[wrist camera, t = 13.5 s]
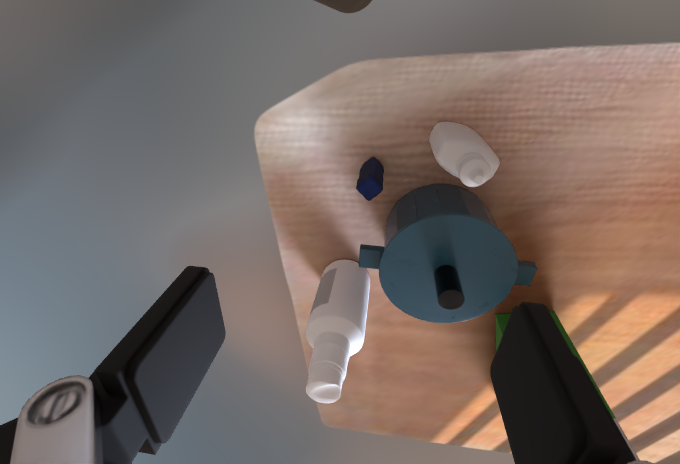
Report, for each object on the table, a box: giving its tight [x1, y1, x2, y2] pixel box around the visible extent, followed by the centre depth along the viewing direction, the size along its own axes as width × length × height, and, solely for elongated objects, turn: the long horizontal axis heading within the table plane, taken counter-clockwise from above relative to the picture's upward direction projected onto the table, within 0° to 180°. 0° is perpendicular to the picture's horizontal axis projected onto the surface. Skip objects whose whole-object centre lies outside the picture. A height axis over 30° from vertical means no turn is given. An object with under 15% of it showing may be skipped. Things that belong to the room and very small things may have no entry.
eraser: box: [356, 157, 384, 201], centre depth 36 cm, size 2×2×7 cm
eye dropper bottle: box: [429, 122, 500, 187], centre depth 31 cm, size 4×6×12 cm
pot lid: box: [379, 213, 518, 323], centre depth 33 cm, size 14×14×5 cm
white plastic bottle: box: [305, 259, 370, 403], centre depth 40 cm, size 7×7×18 cm
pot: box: [359, 184, 537, 286], centre depth 39 cm, size 13×18×8 cm
